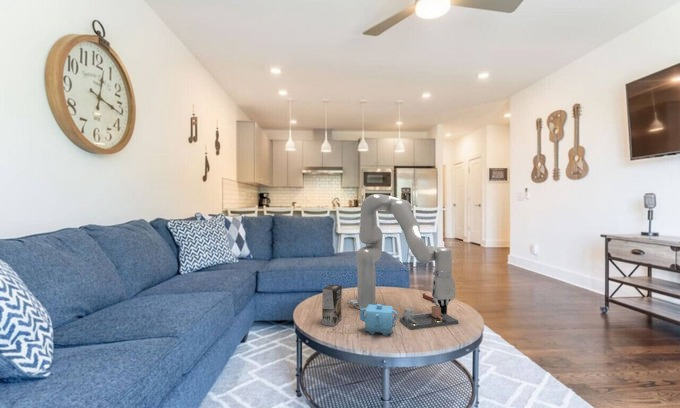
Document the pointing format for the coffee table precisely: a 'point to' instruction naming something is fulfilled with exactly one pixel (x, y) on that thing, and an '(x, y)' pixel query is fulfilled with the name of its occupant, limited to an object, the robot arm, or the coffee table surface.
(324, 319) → the coffee box
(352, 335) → the coffee table surface
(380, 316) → the teapot
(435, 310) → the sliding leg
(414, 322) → the plate
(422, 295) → the pliers
